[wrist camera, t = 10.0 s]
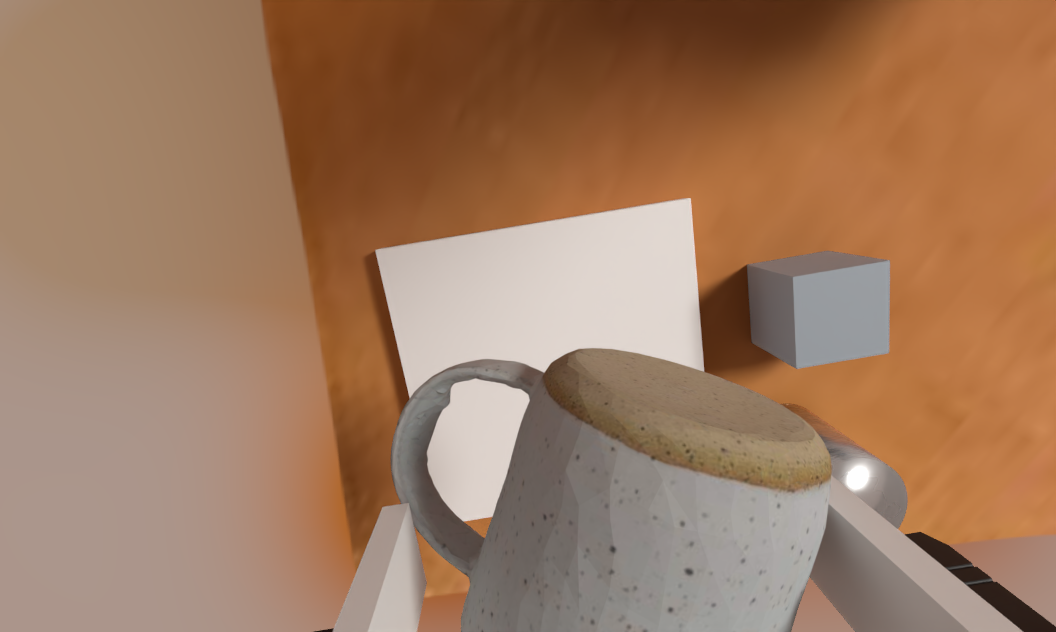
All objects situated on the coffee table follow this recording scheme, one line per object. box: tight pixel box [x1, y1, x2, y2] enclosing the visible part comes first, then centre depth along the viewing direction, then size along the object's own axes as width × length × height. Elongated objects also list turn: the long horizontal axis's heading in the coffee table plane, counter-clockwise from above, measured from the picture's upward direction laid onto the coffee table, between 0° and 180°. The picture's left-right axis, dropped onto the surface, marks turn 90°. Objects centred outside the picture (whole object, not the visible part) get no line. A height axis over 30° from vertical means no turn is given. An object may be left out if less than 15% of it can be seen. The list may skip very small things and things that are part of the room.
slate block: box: [747, 251, 890, 369], centre depth 28 cm, size 5×5×5 cm
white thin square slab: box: [375, 198, 704, 521], centre depth 30 cm, size 18×18×1 cm
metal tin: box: [781, 404, 907, 529], centre depth 29 cm, size 6×6×7 cm
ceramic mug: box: [391, 348, 832, 632], centre depth 12 cm, size 11×8×8 cm
